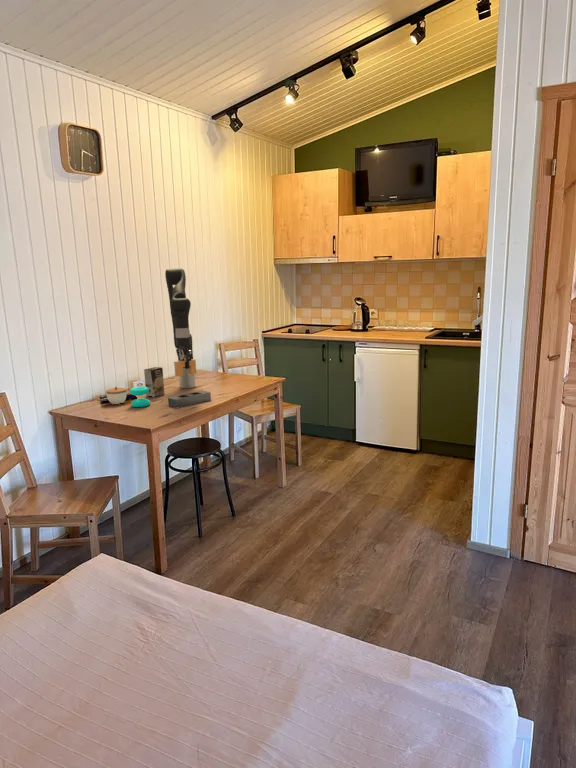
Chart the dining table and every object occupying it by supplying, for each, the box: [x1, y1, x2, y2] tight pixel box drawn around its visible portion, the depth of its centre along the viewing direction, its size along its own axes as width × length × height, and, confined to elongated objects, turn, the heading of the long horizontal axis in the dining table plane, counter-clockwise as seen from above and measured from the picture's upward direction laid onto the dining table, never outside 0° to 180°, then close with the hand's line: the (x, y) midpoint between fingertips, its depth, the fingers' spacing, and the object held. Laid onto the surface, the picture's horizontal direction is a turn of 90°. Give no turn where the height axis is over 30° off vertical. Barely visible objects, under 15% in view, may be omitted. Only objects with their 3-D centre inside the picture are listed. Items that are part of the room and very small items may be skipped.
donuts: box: [129, 385, 151, 408], centre depth 291 cm, size 10×10×10 cm
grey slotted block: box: [167, 389, 212, 409], centre depth 294 cm, size 8×22×4 cm, turn 132°
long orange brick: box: [173, 358, 197, 377], centre depth 290 cm, size 4×11×8 cm, turn 131°
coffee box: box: [143, 366, 165, 398], centre depth 315 cm, size 9×6×16 cm
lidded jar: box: [105, 386, 127, 405], centre depth 299 cm, size 11×11×9 cm
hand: (185, 368), depth 290 cm, fingers closed on long orange brick, 3 cm apart
